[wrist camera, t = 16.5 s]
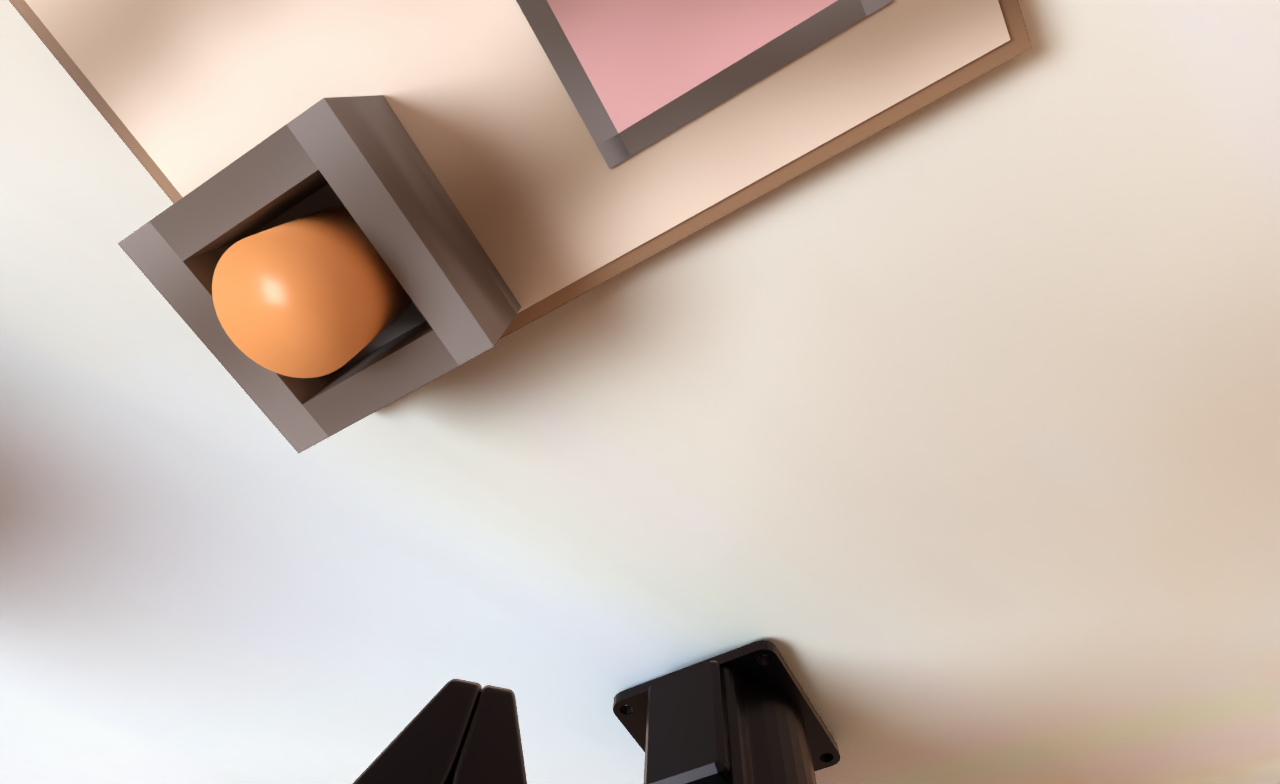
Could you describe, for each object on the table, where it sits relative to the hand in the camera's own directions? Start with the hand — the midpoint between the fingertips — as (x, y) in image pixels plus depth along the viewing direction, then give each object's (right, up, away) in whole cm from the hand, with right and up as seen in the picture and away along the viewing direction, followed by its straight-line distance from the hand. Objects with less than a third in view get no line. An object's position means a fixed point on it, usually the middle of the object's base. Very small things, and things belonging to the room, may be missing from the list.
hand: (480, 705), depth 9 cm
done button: (-5, +7, +8) cm, 12 cm away
